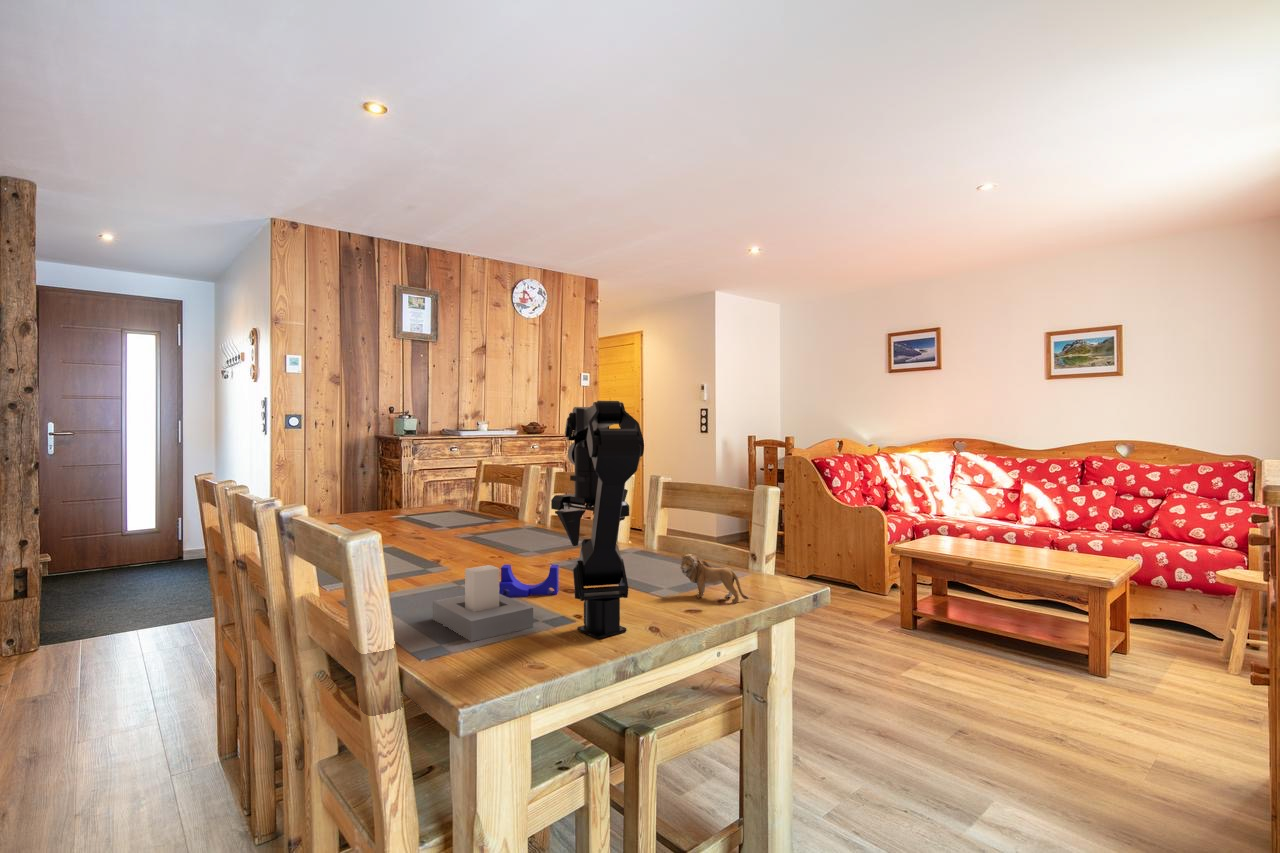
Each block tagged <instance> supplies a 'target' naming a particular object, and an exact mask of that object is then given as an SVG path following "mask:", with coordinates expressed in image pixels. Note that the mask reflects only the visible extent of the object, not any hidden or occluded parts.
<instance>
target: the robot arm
mask: <svg viewBox="0 0 1280 853" xmlns="http://www.w3.org/2000/svg"><path fill="white" fill-rule="evenodd" d="M624 405H625V404H624V402H623V401H619V400H597V401H593V403H592V405H591V406H574V407H573V408H572V412H569V413H568V416H567V418H566V422H565V430H564V437H565V438H566V441H574V442H571V444H570V445H569V447H568V450H567V457H568V461H569V462H570V463H571V464H572V465H573V466H574V474H572V475H571V474H570V476H569V479H570V480H569V481H572V482H574V493H567V494H566V493H565V494H555V495H554V496H553V497H552V499H551V500H550V501H551V504H550V505H551V510H555V511H554V513H555V515H557V517H558V519H559V521H560V522H561V525H562V527H563V528H564V530H565V532H566V534H567V537H568V539H569V541H570V543H571V544H572V546H573V547H578V546H579V543H580V542H579V540H580V532H581V531H580V528H581V519H582V517H583V516H584V514H585V512H586V511H589V512H590V511H591V512H592V513H593V518H592V527H591V535H590V538H584V539H583V540H582V541H581V543H580V553H579V557H578V558H579V559H578V560H576V561H575V566H574V567H573V569H572V574H573V583H574V585H573V586H574V599H577V600H579V601H580V602H583V625H580V626H577V627H576V628H577V631H578V632H581V633H583V634H585V635H588V636H591V637H593V638H595V639H604V638H607V637H611V636H614V635H618V634H622V633H625V632H627V630H628V628H626V627H625V626H622V625H621V624H620V623H621V618H620V617H621V612H620V610H621V606H620V605H621V603H620V602H621V599H622V598H623V599H627V598H629V584H628V578H627V572H626V568H625V562H624V559H623V558H622V556H621V552H620V549H619V546H618V544H617V541H618V535H619V528H620V522H621V521H624V520H625V519H626V517H630V505H629V504H628V502H627V501H626V498H627V494H628V491H629V490H628V489H626V488H625V487H626V483H627V481H628V480H630V478H631V477H633V475H635V473H636V472H638V469H639V464H640V460H641V458H642V457H643V456H644V453H645V442H644V436H643V433H642V430H641V426H640V423H639V421H637V420H636V419H635V418H634V417H633V416H632V415H630V414H629V413H628V412H627V411H626V408H625V406H624ZM613 425H618V427H619V428H615V427H614V428H612V427H611V426H613ZM610 427H611V428H610Z"/></svg>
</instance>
